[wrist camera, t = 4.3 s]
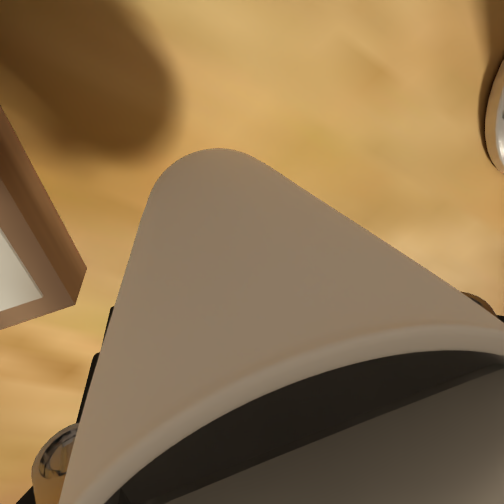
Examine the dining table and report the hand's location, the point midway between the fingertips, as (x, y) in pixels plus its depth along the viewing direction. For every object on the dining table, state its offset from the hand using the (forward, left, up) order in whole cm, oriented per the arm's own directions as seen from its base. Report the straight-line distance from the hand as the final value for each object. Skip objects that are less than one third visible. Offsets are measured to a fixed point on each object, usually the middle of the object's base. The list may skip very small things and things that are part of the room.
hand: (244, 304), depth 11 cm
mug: (0, 0, -5) cm, 5 cm away
